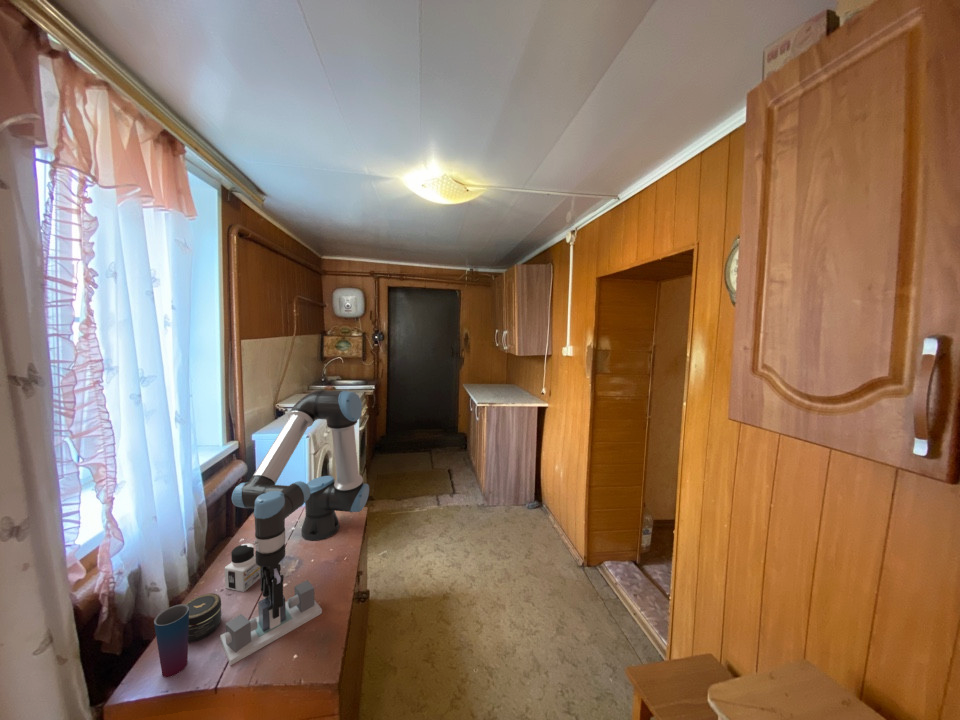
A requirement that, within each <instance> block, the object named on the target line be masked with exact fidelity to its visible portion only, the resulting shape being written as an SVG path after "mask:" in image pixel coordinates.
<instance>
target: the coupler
mask: <svg viewBox="0 0 960 720" xmlns="http://www.w3.org/2000/svg"><path fill="white" fill-rule="evenodd" d="M264 598H265V597H264ZM264 598H263V599H261V600H258V602H257V604H258V605H257V606H258V610H257V611H258V616H259V625H260V627H261V629H262V630H263V632H264V631H266V630H268V629H270V628H269V611H268V607H270V597H269V596H268V597H267V598H265V599H264ZM285 602H286V597H285V595H284V594H283V606H282V607H280V623H281V622H282V621H284V620H286V608H285Z"/></svg>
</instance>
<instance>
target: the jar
mask: <svg viewBox="0 0 960 720" xmlns="http://www.w3.org/2000/svg"><path fill="white" fill-rule="evenodd" d="M221 599H222V598H221V596H220V595H219V594H218V593H212V592H211V593H204V594H200V595H198V596H196V597H193V598H192V599H190V600H188V601H187V602H186V603H185V605H187V606H188V607H189V628H188V643H191V642H196V641H201V640H202V639H205V638H207V637H208V636H210V635H211V634H213V632H214V631H216V630H217V628H218V627H219V625H220V623H221V620H222V600H221Z"/></svg>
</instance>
